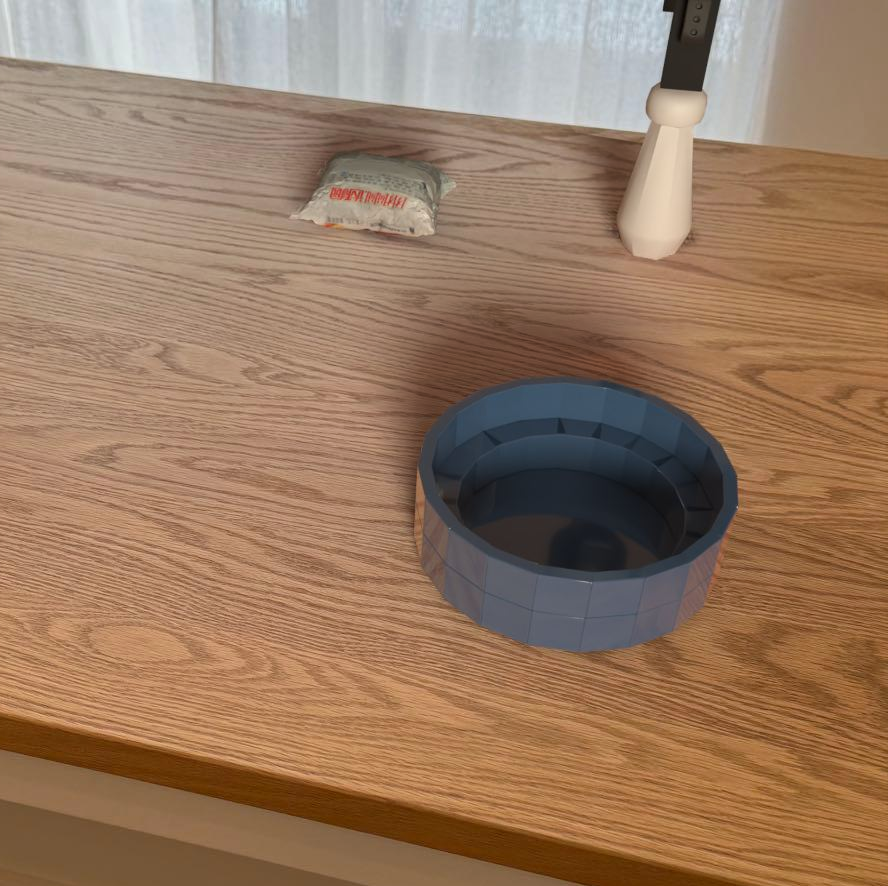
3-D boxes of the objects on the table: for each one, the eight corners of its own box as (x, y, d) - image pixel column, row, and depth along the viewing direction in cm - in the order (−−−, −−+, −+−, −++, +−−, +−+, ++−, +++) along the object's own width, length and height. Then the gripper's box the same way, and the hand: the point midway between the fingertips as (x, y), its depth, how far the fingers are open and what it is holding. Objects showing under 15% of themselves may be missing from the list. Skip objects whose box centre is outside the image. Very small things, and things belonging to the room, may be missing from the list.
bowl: (714, 471, 78) (734, 395, 74) (717, 682, 66) (742, 604, 62) (438, 436, 81) (443, 360, 77) (391, 632, 68) (394, 554, 64)
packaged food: (434, 259, 97) (437, 201, 94) (288, 238, 99) (287, 181, 96) (455, 207, 103) (459, 151, 100) (318, 189, 105) (318, 134, 102)
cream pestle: (679, 271, 96) (713, 109, 87) (605, 258, 97) (632, 96, 88) (691, 235, 100) (725, 76, 91) (620, 222, 101) (647, 65, 92)
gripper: (685, -354, 82) (632, -20, 96) (685, -275, 64) (620, 119, 79) (802, -349, 81) (730, -13, 95) (836, -268, 63) (741, 130, 78)
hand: (680, 48), depth 87 cm, fingers open, 13 cm apart
